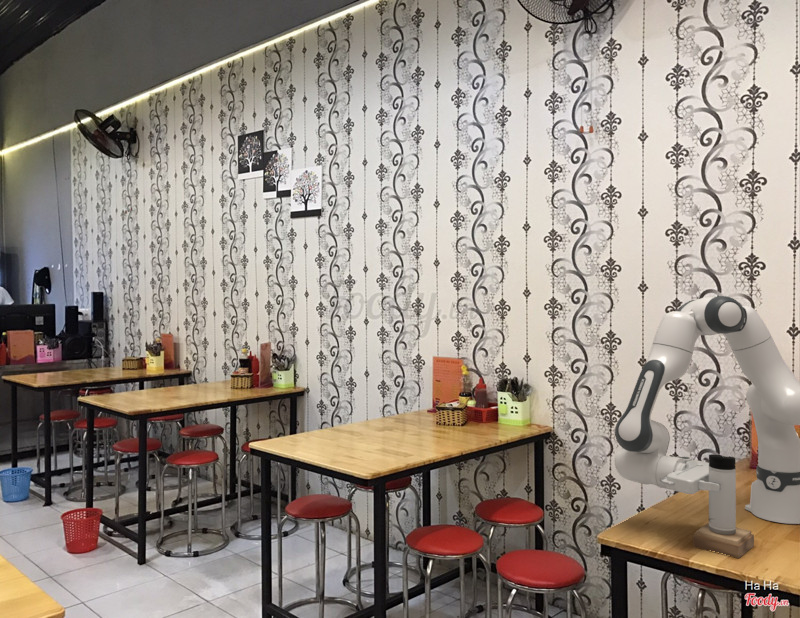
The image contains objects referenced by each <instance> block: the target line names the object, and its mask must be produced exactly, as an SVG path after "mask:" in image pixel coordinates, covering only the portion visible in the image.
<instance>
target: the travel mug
mask: <svg viewBox="0 0 800 618" xmlns="http://www.w3.org/2000/svg"><path fill="white" fill-rule="evenodd" d="M708 463H709V482H711V483H713V482H716V483H720V484H721V490H719V491H713V490H708V523H709V530H710V531H712V532H714V533H716V534H721V535H733V534H735V533H736V528H737V521H736V520H737V519H736V516H737V512H736V510H737V497H736V496H737V495H736V493H737V492H736V490H737V488H736V487H737V485H736V483H737V482H736V478H737V477H736V476H737V475H736V474H737V473H736V470H737V469H736V457H734V456H723V455H722V454H708Z"/></svg>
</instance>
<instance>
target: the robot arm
mask: <svg viewBox="0 0 800 618" xmlns="http://www.w3.org/2000/svg"><path fill="white" fill-rule="evenodd" d="M720 334H723V336H725V339H726V340H727V342H728V345H729V347H730V349H731V351H732V353H733V355H734V357H735V359H736V362H737V364H738V366H739V368H740V370H741V372H742V374H743V375H744V376H745V377H746V378H747V379H748V380H749V381H750V382H751V385H750V386H748V388H747V390H746V393H745V400H746V402H747V405H748V407H749V409H750V411H751V415H752V417H753V423H754V426H755V431H756V436H757V454H758V455H757V458H758V459H757V460H758V461H757V462H758V464H757V465H756V470H755V473H756V478H757V479H756V480H753V481H752V483H751V486H750V500H749V503H748V504H745V505H744V510H747V511H748V512H751V513H752V514H753V515H754V516H755V517H757V518H760V519H761V520H762V519H763V520H766V521H770V522H775V523H781V524H787V525H788V524H789V525H797V524H798V525H799V524H800V438H799V435H798V433H797V431H796V428H795V426H800V380H799V379H798V378H797V376H796V375H795V374H794V373H793V371H792V370H791V369H790V367H789V366H788V365H787V363H786V362H785V360H784V358H783V356H782V355H781V353H780V350H779V349H778V347H777V345H776V343H775V341H774V338H773V336H772V335H771V333H770V330H769V328H768V327H767V325H766V323H765V321H764V320H763V319H762V317H761V316H760V314H759V313H758V312H757V310H755V308H754V307H752V306H749V305H742V304H741V303H740V302H739V301H737V300H736V299H735V298H733V297H730V296H727V295H718V296H704V297H701V298H698V299H691V300H689V301H687V302H685V303H683V304H682V305H681V306H680V307H679V309H678V310H677V311H676V310H674V311H669V312H667V313H665V314H664V315H663V317H662V319H661V320H660V322H659V325H658V327H657V329H656V331H655V334H654V337H653V341H652V344H651V347H650V351H649V355H648V357H647V360H646V362H645V363H644V365H643V367H642V369H641V371H640V373H639V375H638V378H637V380H636V383H635V386H634V388H633V390H632V391H633V392H632V394H631V397H630V399H629V403H628V405H627V407H626V409H625V410H624V413H623V414H622V415H621V416H620V418H619V419H618V421H617V423H616V425H615V427H614V428H615V429H614V435H615V439H616V443H618V445H619V446H620V447H621V449H619V450H618V451H617V452H616V453H615V456H614V467H615V469H616V472H617V473H618V474H619V476H620V477H621V478H623V479H626V480H627V481H630V482H633V483H638V484H640V485H641V484H643V485H653V486H656V487H658V488H660V489H661V488H662V489H665V490H671V491H675V492H678V493H683V494H688V495H694V494H696V493H698V492H700V491H709V490H713V491H719V490H721V484H720V483H716V482H713V483H711V482H709V461H708V462H707V461H702V460H696V459H694V460H693V458H692V457H690V456H678V457H677V456H670V455H667V452H668V449H669V445H670V441H671V436H670V433H669V430H668V428H667V427H666V426H665V425H664V424H663V423H661V422H658V421H655V420H653V419H651V416H652V414H653V413H652V412H653V410H654V408H655V407H654V406H655V404H656V402H657V399H658V396H659V393H660V391H661V389H662V388H663V387H664V386H665V385H666V384H668V383H669V382H670V383H671V382H672V381H675V380H678V379H680V378H682V377H684V375H686V373H687V371H688V369H689V367H690V364H691V362H692V358H693V353H694V349H695V346H696V342H697V340H698V339H699V338H700V336H715V335H720Z"/></svg>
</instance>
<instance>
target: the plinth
mask: <svg viewBox="0 0 800 618" xmlns="http://www.w3.org/2000/svg"><path fill="white" fill-rule="evenodd" d="M692 540H693V541H692V544H693V545H692V546H695V547H694V548H697V547H698V548H697V549H701V548H702V549H701V550H704V549H706V551H708V550H711V551H710V552H712V551H715V552H714V553H716V552H719V553H723V554H726V555H725V556H727V555H730V556H729V557H731V556H733V557H732V558H734V557H736V558H735V559H737V560H738V559H740V558H742V557H743V556H745V554H746V553H747V552H749V551H750V550H751V549H752V548H754V547H755V534H752V531H751V530H748V529H744V528H740V527H736V533H735V534H733V535H721V534H716V533H714V532H712V531H710V530H709V522H708V523H707V524H705V525H704V526H702V527H700V528H698V529H697V530H695V533H694V534H693V535H692ZM719 553H718V554H719ZM723 554H722V555H723Z"/></svg>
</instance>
